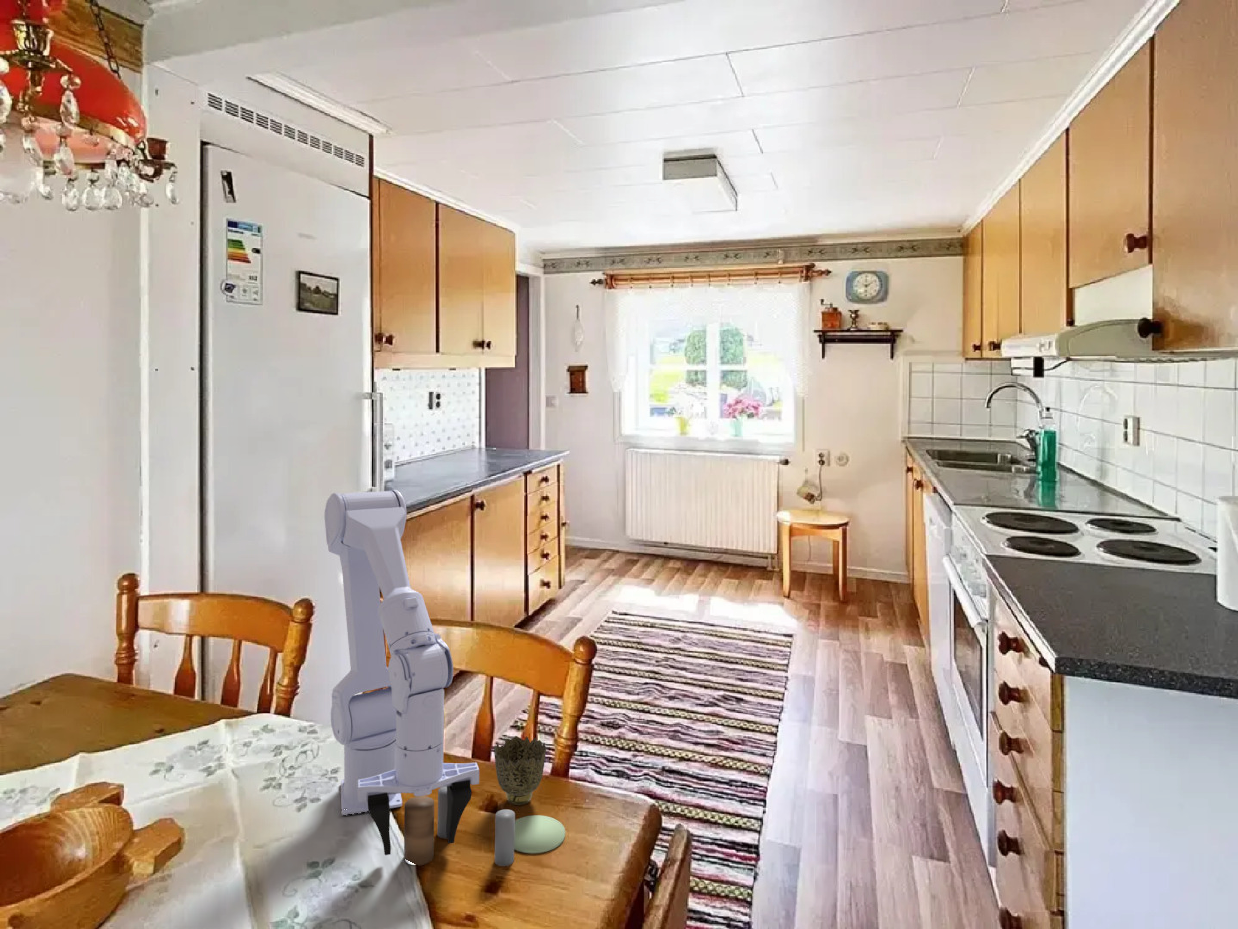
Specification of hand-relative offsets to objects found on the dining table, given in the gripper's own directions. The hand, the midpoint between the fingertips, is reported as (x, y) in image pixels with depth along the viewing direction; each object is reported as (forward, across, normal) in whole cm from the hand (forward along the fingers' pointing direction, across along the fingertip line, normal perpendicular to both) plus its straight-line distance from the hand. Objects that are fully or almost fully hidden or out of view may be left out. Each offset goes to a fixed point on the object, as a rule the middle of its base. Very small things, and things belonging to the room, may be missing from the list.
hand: (419, 844), depth 93 cm
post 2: (+2, +10, -4) cm, 11 cm away
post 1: (+2, +4, +4) cm, 6 cm away
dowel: (+2, 0, 0) cm, 2 cm away
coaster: (+2, +15, 0) cm, 15 cm away
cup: (+2, +15, +9) cm, 18 cm away
